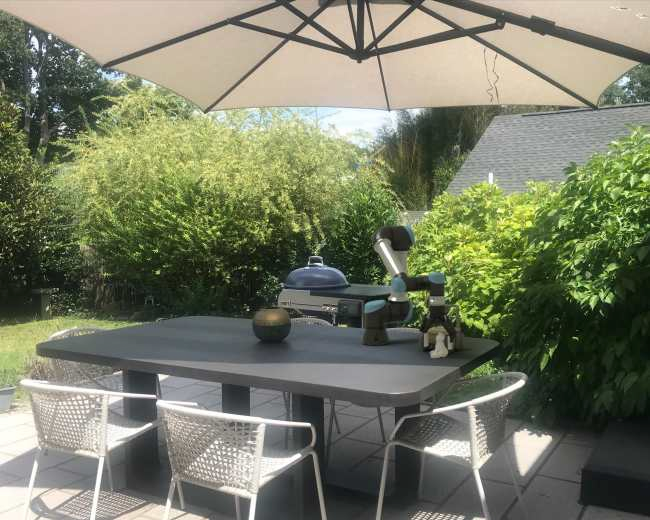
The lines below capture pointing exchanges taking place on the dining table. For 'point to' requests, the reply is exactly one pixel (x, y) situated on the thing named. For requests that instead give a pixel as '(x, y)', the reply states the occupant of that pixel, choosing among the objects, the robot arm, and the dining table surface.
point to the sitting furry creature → (439, 347)
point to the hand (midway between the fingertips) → (438, 347)
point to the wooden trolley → (433, 332)
